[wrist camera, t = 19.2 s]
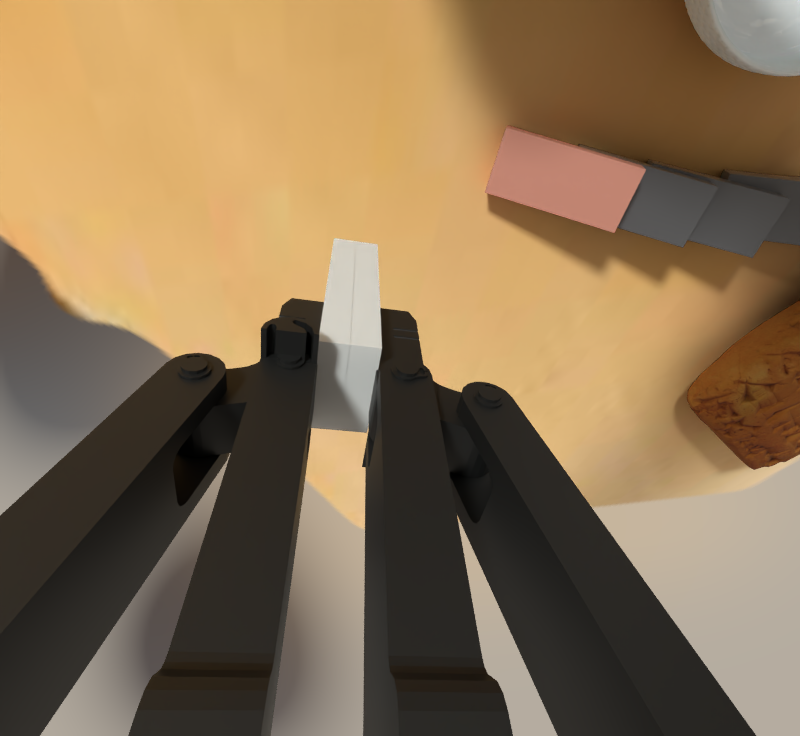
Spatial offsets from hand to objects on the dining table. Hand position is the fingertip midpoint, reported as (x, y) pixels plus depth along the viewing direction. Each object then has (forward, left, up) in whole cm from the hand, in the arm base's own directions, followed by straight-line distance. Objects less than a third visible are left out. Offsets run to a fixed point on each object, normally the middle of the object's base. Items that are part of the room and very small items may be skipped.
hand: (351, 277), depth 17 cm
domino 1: (0, +11, -25) cm, 28 cm away
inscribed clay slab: (+14, +49, -27) cm, 57 cm away
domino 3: (0, +24, -26) cm, 35 cm away
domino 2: (0, +18, -26) cm, 31 cm away
